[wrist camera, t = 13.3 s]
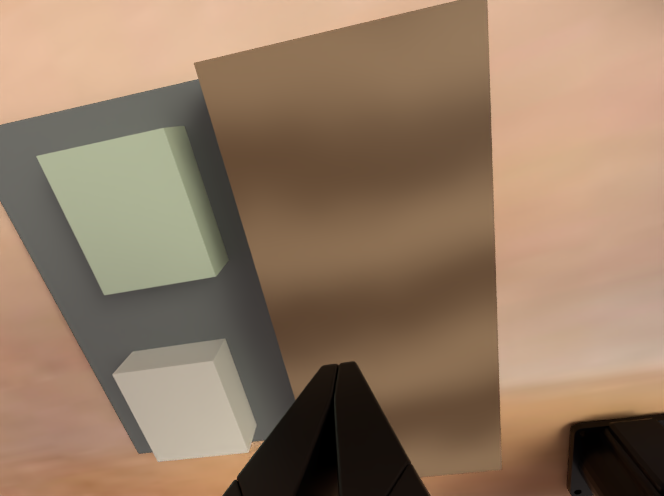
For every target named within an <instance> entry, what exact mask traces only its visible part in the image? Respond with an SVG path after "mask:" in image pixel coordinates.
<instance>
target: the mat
mask: <svg viewBox="0 0 664 496" xmlns="http://www.w3.org/2000/svg"><path fill="white" fill-rule="evenodd" d="M177 126H185V129H186V132H187V135H188V138H189V141H190V144H191V147H192V150H193V153H194V156H195V159H196V162H197V165H198V169H199V172H200V175H201V178H202V181H203V184H204V187H205V190H206V193H207V196H208V199H209V202H210V205H211V208H212V211H213V214H214V217H215V220H216V223H217V226H218V229H219V232H220V235H221V238H222V241H223V244H224V247H225V250H226V253H227V256H228V259H229V261H228V262H227V263H226V265H225V266H224V267H223V268H222V270H221V271H220V272H219V273H218V275H217V276H216V277H211V278H205V279H199V280H193V281H187V282H181V283H175V284H169V285H163V286H157V287H151V288H145V289H139V290H133V291H127V292H121V293H115V294H109V295H104V294H103V292H102V290H101V288H100V285H99V283H98V281H97V279H96V277H95V275H94V273H93V271H92V269H91V267H90V265H89V263H88V261H87V259H86V257H85V255H84V253H83V251H82V249H81V247H80V245H79V243H78V241H77V239H76V237H75V235H74V232H73V230H72V228H71V226H70V224H69V222H68V220H67V218H66V216H65V214H64V212H63V210H62V208H61V206H60V204H59V202H58V200H57V198H56V196H55V194H54V192H53V190H52V188H51V186H50V184H49V182H48V179H47V177H46V175H45V173H44V171H43V169H42V167H41V165H40V163H39V161H38V159H37V157H36V156H39V155H43V154H48V153H52V152H57V151H61V150H66V149H70V148H75V147H79V146H84V145H88V144H93V143H97V142H102V141H106V140H111V139H115V138H120V137H124V136H129V135H133V134H138V133H142V132H147V131H151V130H156V129H160V128H167V127H177ZM0 201H1V203H2V205H3V207H4V209H5V210H6V212H7V214H8V216H9V218H10V220H11V221H12V223H13V225H14V227H15V229H16V230H17V232H18V234H19V236H20V238H21V240H22V241H23V243H24V245H25V247H26V249H27V251H28V252H29V254H30V256H31V258H32V260H33V262H34V263H35V265H36V267H37V269H38V271H39V272H40V274H41V276H42V278H43V280H44V282H45V283H46V285H47V287H48V289H49V291H50V293H51V294H52V296H53V298H54V300H55V302H56V304H57V305H58V307H59V309H60V311H61V313H62V315H63V316H64V318H65V320H66V322H67V324H68V325H69V327H70V329H71V331H72V333H73V335H74V336H75V338H76V340H77V342H78V344H79V346H80V347H81V349H82V351H83V353H84V355H85V357H86V358H87V360H88V362H89V364H90V366H91V368H92V369H93V371H94V373H95V375H96V377H97V378H98V380H99V382H100V384H101V386H102V388H103V389H104V391H105V393H106V395H107V397H108V399H109V400H110V402H111V404H112V406H113V408H114V410H115V411H116V413H117V415H118V417H119V419H120V421H121V422H122V424H123V426H124V428H125V430H126V431H127V433H128V435H129V437H130V439H131V441H132V442H133V444H134V446H135V448H136V450H137V452H138V453H139V454H141V453H151V452H153V451H152V449H151V448H150V446H149V444H148V442H147V440H146V438H145V436H144V434H143V432H142V430H141V428H140V427H139V425H138V423H137V421H136V419H135V417H134V415H133V413H132V411H131V409H130V408H129V406H128V404H127V402H126V400H125V398H124V396H123V394H122V392H121V390H120V388H119V387H118V385H117V383H116V381H115V379H114V377H113V375H112V374H113V373H114V372H115V371H116V370H117V368H118V367H119V366H120V365H121V364H122V363H123V362H124V361H125V359H126V358H127V357H128V356H129V355H130V354H131V353H132V352H133V351H140V350H147V349H154V348H161V347H168V346H175V345H182V344H189V343H196V342H203V341H210V340H217V339H224V338H225V339H226V342H227V345H228V348H229V350H230V353H231V356H232V359H233V361H234V364H235V367H236V370H237V372H238V375H239V378H240V381H241V383H242V386H243V389H244V392H245V394H246V397H247V400H248V403H249V405H250V408H251V411H252V414H253V416H254V419H255V422H256V425H257V426H256V429H255V433H254V436H253V440H252V442H253V441H262V440H265V439H266V438H267V437H268V435H269V434H270V433H271V431H272V430H273V429H274V428H275V426H276V425H277V424H278V422H279V421H280V420H281V418H282V417H283V416H284V414H285V413H286V412H287V410H288V409H289V408H290V407H291V405H292V404H293V403H294V401H295V397H294V394H293V391H292V387H291V384H290V381H289V377H288V374H287V371H286V367H285V364H284V361H283V357H282V354H281V351H280V347H279V344H278V341H277V337H276V334H275V331H274V327H273V324H272V321H271V318H270V314H269V311H268V308H267V304H266V301H265V298H264V294H263V291H262V288H261V284H260V281H259V278H258V274H257V271H256V268H255V264H254V261H253V258H252V254H251V251H250V248H249V244H248V241H247V238H246V235H245V231H244V228H243V225H242V221H241V218H240V215H239V211H238V208H237V205H236V201H235V198H234V195H233V191H232V188H231V185H230V181H229V178H228V175H227V171H226V168H225V165H224V161H223V158H222V155H221V152H220V148H219V145H218V142H217V138H216V135H215V132H214V128H213V125H212V122H211V118H210V115H209V112H208V108H207V105H206V102H205V98H204V95H203V92H202V88H201V85H200V82H199V79H197V80H193V81H189V82H184V83H180V84H176V85H171V86H167V87H163V88H158V89H154V90H150V91H145V92H141V93H137V94H132V95H128V96H124V97H119V98H115V99H111V100H106V101H102V102H98V103H93V104H89V105H85V106H80V107H76V108H72V109H67V110H63V111H59V112H55V113H50V114H46V115H42V116H37V117H33V118H29V119H24V120H20V121H16V122H11V123H7V124H3V125H0Z"/></svg>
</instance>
